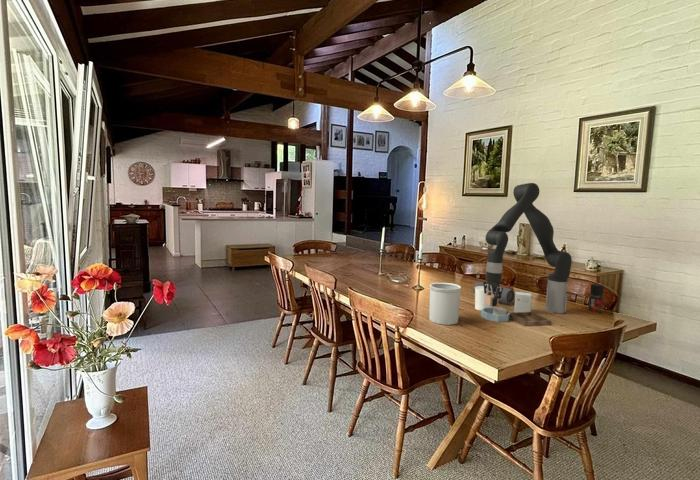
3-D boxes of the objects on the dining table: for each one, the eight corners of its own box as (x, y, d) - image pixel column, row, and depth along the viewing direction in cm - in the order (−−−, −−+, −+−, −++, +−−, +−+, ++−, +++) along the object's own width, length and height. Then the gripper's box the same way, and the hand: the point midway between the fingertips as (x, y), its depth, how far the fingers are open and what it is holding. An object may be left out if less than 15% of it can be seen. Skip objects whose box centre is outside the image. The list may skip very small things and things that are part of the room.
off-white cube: (500, 315, 193) (501, 307, 192) (506, 318, 188) (506, 309, 188) (492, 315, 192) (493, 307, 191) (497, 318, 188) (498, 310, 187)
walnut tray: (530, 316, 195) (531, 311, 194) (550, 326, 181) (551, 320, 181) (506, 317, 192) (506, 312, 191) (524, 327, 178) (525, 322, 178)
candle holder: (494, 313, 199) (495, 291, 197) (474, 311, 200) (476, 289, 199) (490, 308, 208) (492, 286, 207) (472, 306, 210) (473, 285, 209)
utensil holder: (421, 317, 188) (423, 283, 186) (446, 314, 194) (448, 281, 192) (439, 327, 175) (442, 290, 173) (465, 323, 181) (467, 288, 179)
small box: (530, 312, 202) (532, 293, 201) (530, 315, 197) (532, 295, 196) (514, 310, 206) (515, 291, 204) (513, 312, 200) (515, 293, 199)
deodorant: (587, 311, 207) (590, 284, 205) (589, 309, 211) (592, 283, 210) (599, 313, 203) (602, 286, 201) (602, 311, 207) (604, 285, 206)
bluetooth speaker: (514, 304, 216) (516, 287, 215) (505, 307, 211) (506, 289, 210) (481, 295, 235) (482, 279, 234) (471, 297, 230) (472, 281, 229)
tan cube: (492, 303, 191) (493, 294, 191) (497, 306, 187) (498, 297, 186) (484, 303, 190) (485, 294, 190) (489, 306, 186) (490, 297, 185)
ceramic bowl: (498, 314, 197) (499, 307, 197) (514, 322, 185) (515, 314, 184) (476, 314, 195) (477, 307, 194) (490, 323, 182) (491, 315, 182)
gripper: (509, 274, 180) (506, 308, 182) (492, 268, 194) (490, 300, 196) (495, 274, 179) (492, 309, 181) (479, 268, 193) (477, 300, 195)
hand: (491, 304), depth 188 cm, fingers closed on tan cube, 4 cm apart
